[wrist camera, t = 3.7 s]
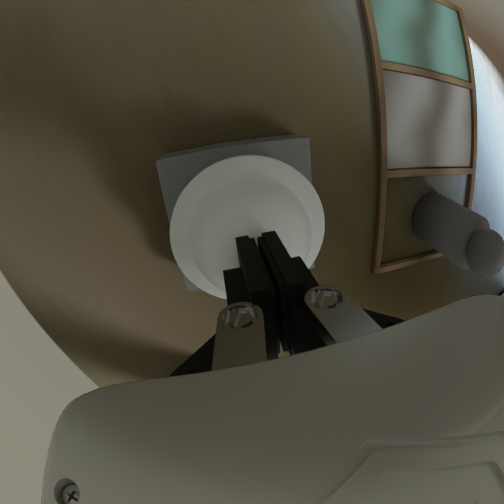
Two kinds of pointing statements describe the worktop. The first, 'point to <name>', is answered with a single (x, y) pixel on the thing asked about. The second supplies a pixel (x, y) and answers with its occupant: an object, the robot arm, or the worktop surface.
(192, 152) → the collar
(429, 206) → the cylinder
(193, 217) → the dome
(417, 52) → the brown flat rectangular frame
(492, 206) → the worktop surface
